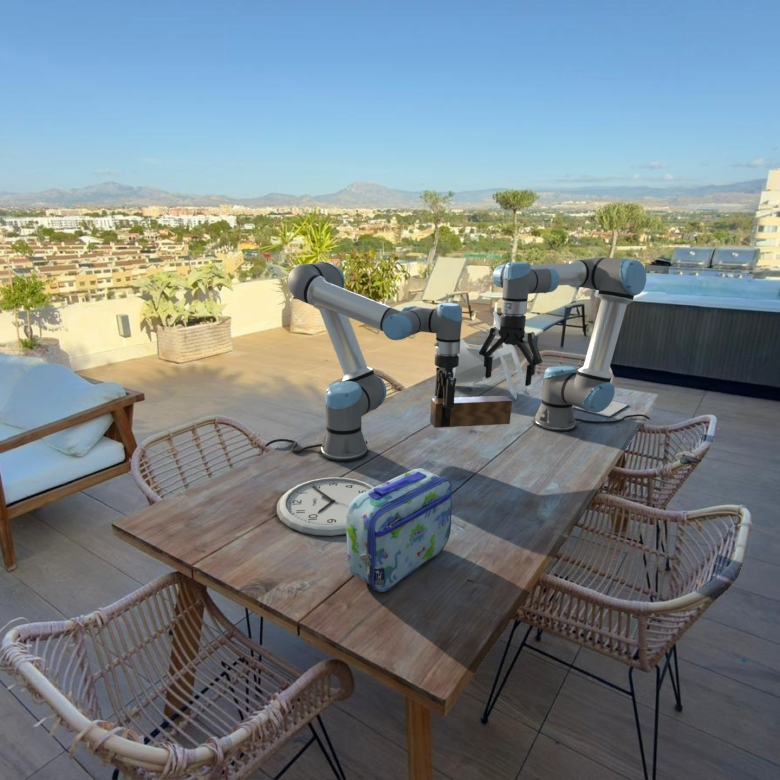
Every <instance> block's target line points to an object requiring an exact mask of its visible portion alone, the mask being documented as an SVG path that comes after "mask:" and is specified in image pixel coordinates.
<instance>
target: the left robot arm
mask: <svg viewBox="0 0 780 780" xmlns="http://www.w3.org/2000/svg"><path fill="white" fill-rule="evenodd" d="M345 285H346V277H345V275H344V272H343V270H342V269H341V268H340V267H339V266H338V265H336V264H334V263H333V262H326V261H319V262H313V263H311V262H310V263H301V264H299V265H296V266H294V268H292V270H290V273H288V278H287V287H288V291H289V293H290V294H291V295H292V296H293V297H294V298H295V299H297V300H298V301H300V302H302V303H305V304H308V305H310V306H312V307H313V308H314V309H316V310H318V311H319V314H320V315H321V318H322V320H323V321H322V322H323V323H324V326H325V329H326V332H327V334H328V336H329V339H330V341H331V344H332V347H333V350H334V352H335V354H336V355H335V356H336V357H337V360H338V362H339V365H340V368H341V370H342V373H343V377H342V380H341V381H338V382H337V381H336V382H334V383H332V384H331V385H329V386H328V387H327V389H326V391H325V398H324V401H325V424H326V425H325V426H326V428H325V429H326V431H325V435H324V437H323V439H322V440H323V441H322V443H317V444H311V445H307V446H304V447H302V448H300V449H295V448H296V447H297V446H298V442H297V441H296V440H293V439H288V438H277V439H272V440H271V441H268V442H266V443H265V445H264V447H268V446H270V445H271V444H274V443H279V442H287V443H291V444H293V445H292V446H291V449H290V451H291V452H292V453H294V454H298V453H302V452H304V451H305V450H308V449H314V448H319V447H320V448H321V449H320V450H321V451H320V452H321V455H322V457H324V458H325V459H327V460H331V461H335V462H353V461H356V460H359V459H361V458H364V457H365V456H366V455H367V453H368V446H367V444H368V441H367V439H365V438H364V434H363V431H362V417H363V416H365V415H367V414H369V413H370V412H372V411H375V410H377V409H378V408H379V407H380V406H382V404H383V403H384V402H385V400H386V398H387V385H386V383H385V382H384V380H383V379H382V378H381V377H379V376H378V375H376V373H375V371H374V369H373V368H372V367H369V366H368V365H367V362H366V359H365V357H364V354H363V352H362V349H361V346H360V344H359V343H360V342H359V341H358V338H357V336H356V333H355V331H354V328H353V325H352V322H351V320H350V319H353V320H354V321H357V322H360V323H362V324H364V325H367V326H369V327H372V328H374V329H377V330H379V331H381V332H383V334H384V335H385V336H386V337H387V338H388V339H389V340H391V341H400V340H405V339H406V338H409V337H411V336H413V335H416V334H418V333H431V334H435V343H434V347H435V354H434V365H435V367H436V368H435V373H436V374H435V387H434V388H435V389H434V396H435V398H443V406H441V408H442V418H441V428H446V427H445V426H450V414H451V408H454V398H455V395H456V393H455V392H456V384H455V383H456V378H453V377H454V373H453V368H455V367H457V366H458V364H459V355H458V354H459V353H460V339H461V336H462V335H461V334H462V324H463V308H462V306H461V305H460V304H459V303H453V302H452V303H450V302H443V303H439V304H438V305H437V308H429V307H421V306H416V305H413V306H410V305H409V306H408V305H406V306H404V307H403V309H402V310H398V309H396V308H393V307H391V306H389V305H387V304H384V303H381V302H379V301H376V300H373V299H371V298H369V297H366V296H363V295H361V294H358V293H355V292H353V291H350V290H348V289H345Z"/></svg>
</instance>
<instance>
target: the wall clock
mask: <svg viewBox="0 0 780 780" xmlns="http://www.w3.org/2000/svg"><path fill="white" fill-rule="evenodd" d="M375 487H376V486H374V485H372V484H371V483H369V482H365V481H362V480H359V479H355V478H349V477H338V476H337V477H335V476H333V477H332V476H331V477H322V478H317V479H312V480H307V481H305V482H302V483H299V484H297V485H295V486H293V487H292V488H290V489H288V490H287V491H286V492H285V493H284V494H283V495H281V496H280V498H279V499H278V502H277V503H276V515H277V517H278V518H279V520H280V521H281V522H282V523H283V524H285V525H286V526H287V527H288V528H290V529H293V530H295V531H297V532H299V533H303V534H308V535H312V536H327V537H328V536H329V537H331V536H332V537H333V536H342V535H346V515H347V510H348V507H349V505H350V504H351V502H352V501H353V500H354V498H356V497H357V496H358V495H360V494H362V493H364V492H366V491H368V490H370V489H373V488H375Z"/></svg>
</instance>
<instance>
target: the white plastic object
mask: <svg viewBox="0 0 780 780" xmlns="http://www.w3.org/2000/svg"><path fill="white" fill-rule="evenodd" d="M492 315H493V319H494V321H495V324H496V325H495V326H496V328H498V329H500V320H501V317H500V315H499V314H498V312H497V311H496V310H495V311H492ZM500 338H501V337H500V336H499V339H500ZM482 346H483V344H479V345H473V346H469V345H468V343H466V342H465V340H464V339H463V338H460V353H459V354H458V355H459V364H458V366H457V367H455V368H453V373H454V377H453V378H456V383H455V385H458V384H467V383H468V384H469V383H473V384H477V383H480V382H482V381H484V378H485V375H486V367H484V356H483V355H480V354H479V351H480V350H481V348H482ZM501 346H502V347H499V348H498V349H497V350H496V351H495V352H494V353H493V354H492V355H491V356H490V357H493V359H492V372H494V371H495V370H496V369H497V368H499V367H500V366H502V370H503V373H504V376H505V380H506V383H507V386H508V390H509V393H510V394H511V395H512V397H513V398H514V399H515V400H517V392H516V391H517V390H516V388H515V385H514V381H513V378H512V375H511V371H510V369H509V365H508V361H510V360H513V363H514V366H515V369H516V372H517V376H518V380H519V382H520V385H521V389H522V391H523V393H524V395H525V396H526V397H528V396H531V395H530V390H529V388H528V387H529V386H525V382H526V377H525V375H524V371H523V369H522V368H523V367H522V366H521V362H520V359H519V355H518V352H517V349H516V347H515V345H511V344H505V343H503V344H502V345H501ZM491 347H492V346H491V345H490V346H489V348H488V349H487V351H488V350H489V349H490V348H491ZM487 351H486V352H487Z"/></svg>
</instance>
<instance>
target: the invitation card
mask: <svg viewBox="0 0 780 780" xmlns="http://www.w3.org/2000/svg"><path fill="white" fill-rule="evenodd" d="M628 406H629V404H627V403H623V402H618V401H614V400H612V402H611V403H610V405H609V406H608V407H607V408H605V409H604V410H603V411H601V412H597V413H595V412H591V411H586V410H584V409H582V408H579V407H576V406H574V407H573V409H575V410H581V411H584V412H587V413H593V414H596V415H600V416H604V417H608V418H609V417H611V416H613V415H614V414H616V413H617V412H619V411H621V410H623V409H624V408H626V407H628Z"/></svg>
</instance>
